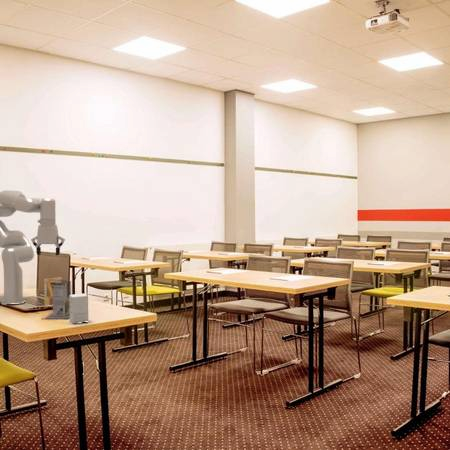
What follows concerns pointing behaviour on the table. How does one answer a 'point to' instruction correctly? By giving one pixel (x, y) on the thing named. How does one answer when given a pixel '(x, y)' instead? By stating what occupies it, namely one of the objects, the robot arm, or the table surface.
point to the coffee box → (61, 298)
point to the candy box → (49, 290)
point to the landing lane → (50, 316)
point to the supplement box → (78, 308)
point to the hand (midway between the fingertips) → (48, 255)
